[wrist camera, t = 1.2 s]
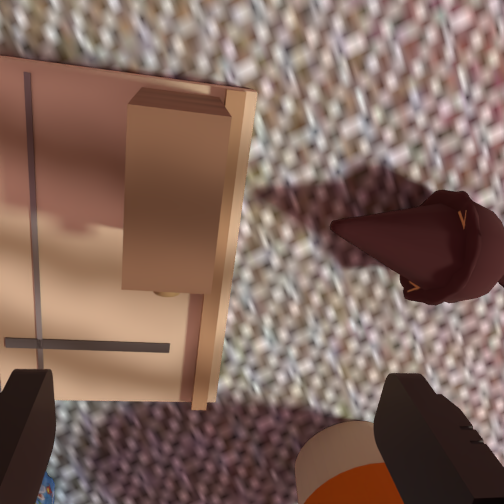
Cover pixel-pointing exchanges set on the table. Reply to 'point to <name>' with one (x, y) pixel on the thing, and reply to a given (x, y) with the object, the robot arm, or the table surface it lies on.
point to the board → (100, 241)
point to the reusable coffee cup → (344, 468)
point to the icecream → (434, 246)
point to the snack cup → (46, 491)
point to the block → (173, 191)
